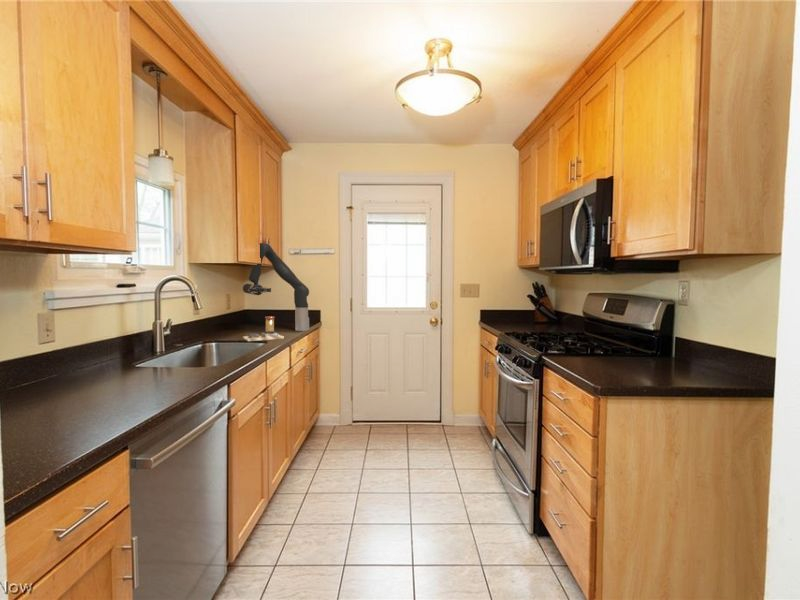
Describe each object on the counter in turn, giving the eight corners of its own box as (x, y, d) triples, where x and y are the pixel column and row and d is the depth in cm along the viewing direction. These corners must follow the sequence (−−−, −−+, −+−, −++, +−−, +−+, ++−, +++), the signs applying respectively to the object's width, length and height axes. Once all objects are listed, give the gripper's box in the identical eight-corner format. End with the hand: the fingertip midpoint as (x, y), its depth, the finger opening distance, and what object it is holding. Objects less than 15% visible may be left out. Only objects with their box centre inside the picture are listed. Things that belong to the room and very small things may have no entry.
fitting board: (277, 335, 266) (277, 331, 266) (283, 338, 255) (283, 333, 255) (242, 338, 253) (242, 333, 253) (248, 341, 243) (248, 335, 243)
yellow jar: (273, 335, 261) (273, 316, 260) (275, 336, 256) (276, 317, 255) (263, 335, 257) (264, 316, 257) (266, 336, 252) (266, 317, 252)
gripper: (245, 284, 280) (251, 284, 267) (266, 284, 288) (273, 284, 275) (246, 295, 281) (251, 296, 267) (266, 294, 289) (273, 295, 275)
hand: (262, 290), depth 271 cm, fingers open, 8 cm apart
